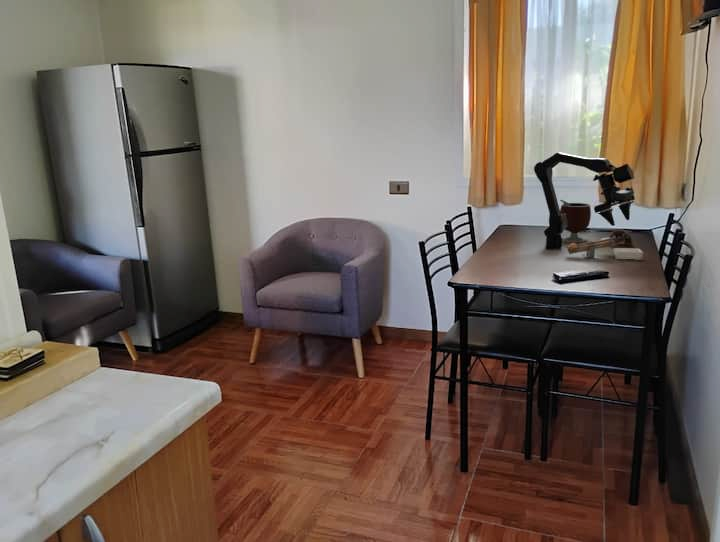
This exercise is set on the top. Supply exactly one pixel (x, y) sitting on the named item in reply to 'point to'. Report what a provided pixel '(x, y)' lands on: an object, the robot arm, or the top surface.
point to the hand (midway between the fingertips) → (620, 222)
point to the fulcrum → (590, 254)
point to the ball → (572, 245)
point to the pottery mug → (621, 237)
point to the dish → (627, 253)
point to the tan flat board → (592, 245)
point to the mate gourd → (576, 219)
